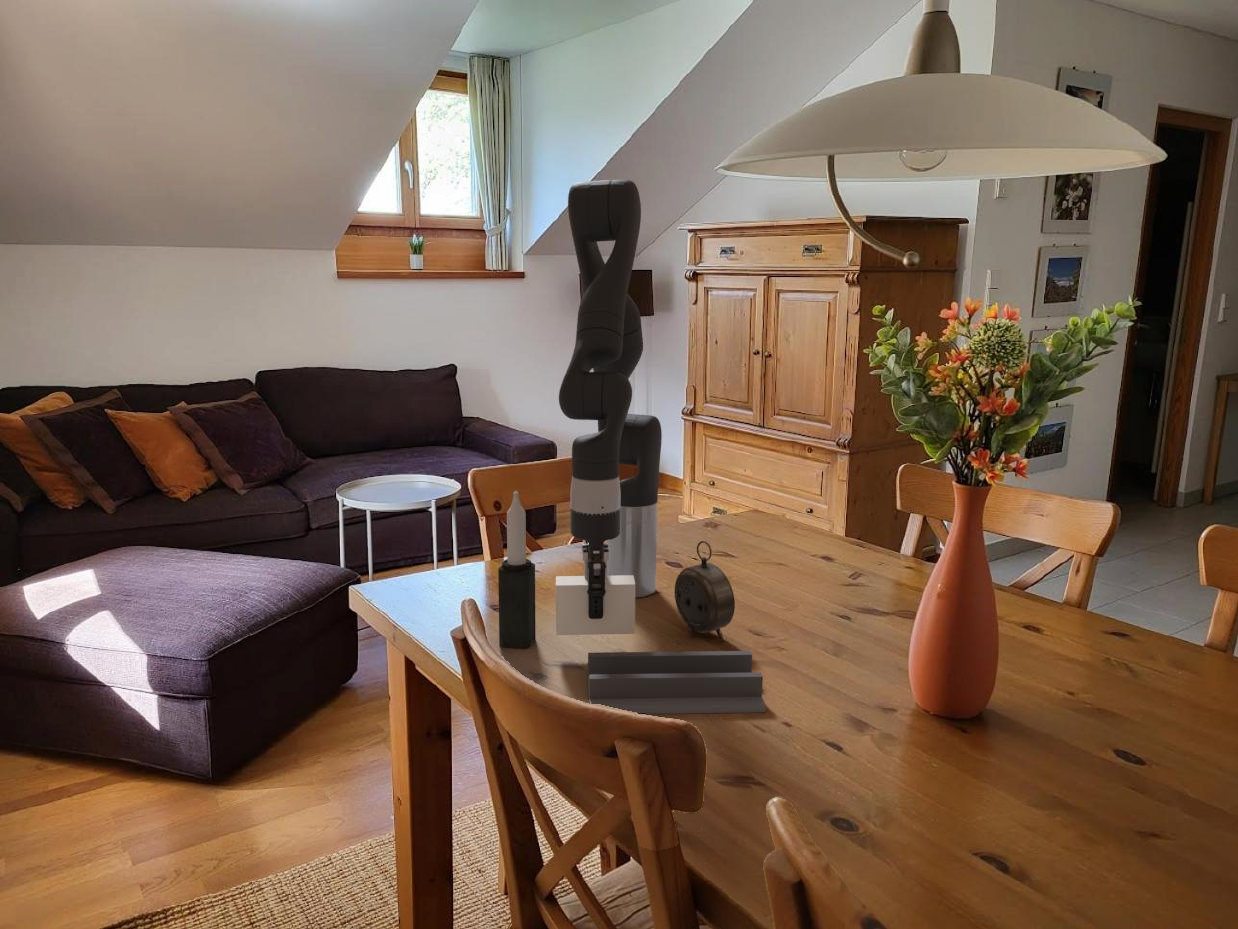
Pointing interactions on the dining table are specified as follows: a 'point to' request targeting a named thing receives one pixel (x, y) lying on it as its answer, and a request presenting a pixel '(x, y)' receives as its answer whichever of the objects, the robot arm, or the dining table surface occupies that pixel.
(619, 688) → the door track
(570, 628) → the white rectangular block
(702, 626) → the alarm clock
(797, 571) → the dining table surface
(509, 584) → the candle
